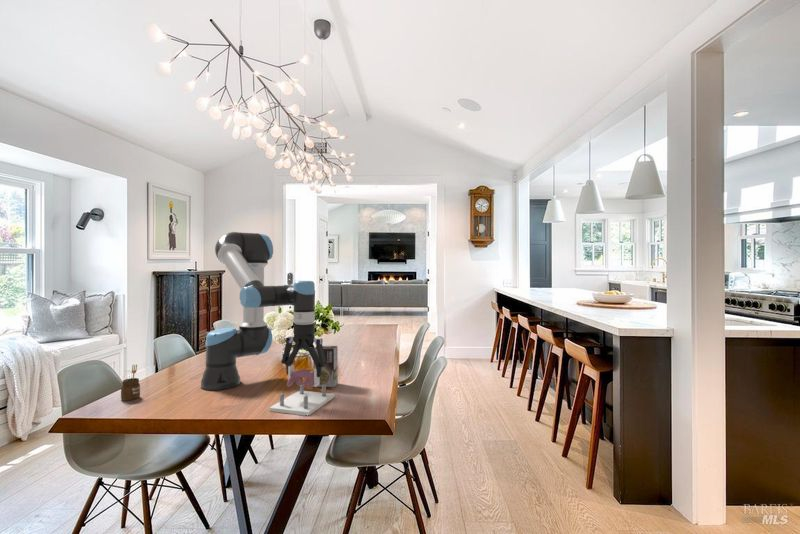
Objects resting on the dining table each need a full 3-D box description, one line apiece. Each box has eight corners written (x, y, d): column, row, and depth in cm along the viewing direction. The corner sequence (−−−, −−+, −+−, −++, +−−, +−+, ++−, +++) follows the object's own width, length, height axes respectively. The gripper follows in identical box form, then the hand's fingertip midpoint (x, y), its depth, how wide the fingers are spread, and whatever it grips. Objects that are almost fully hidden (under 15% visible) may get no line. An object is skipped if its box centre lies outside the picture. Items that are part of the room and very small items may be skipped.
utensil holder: (117, 401, 143) (117, 368, 143) (126, 396, 149) (126, 364, 149) (135, 400, 144) (135, 368, 144) (143, 395, 150) (143, 364, 150)
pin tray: (269, 411, 134) (269, 395, 134) (299, 393, 154) (299, 380, 154) (308, 415, 130) (308, 400, 130) (334, 397, 149) (334, 383, 149)
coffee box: (338, 383, 168) (338, 345, 168) (334, 387, 161) (334, 348, 161) (317, 382, 168) (317, 345, 169) (312, 386, 162) (312, 348, 162)
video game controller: (315, 391, 140) (319, 371, 143) (309, 388, 136) (313, 368, 139) (291, 388, 143) (296, 369, 146) (284, 386, 139) (290, 366, 142)
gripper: (271, 323, 142) (270, 384, 141) (327, 325, 135) (326, 390, 135) (283, 320, 149) (282, 379, 149) (336, 323, 142) (336, 384, 142)
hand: (303, 384), depth 142 cm, fingers closed on video game controller, 10 cm apart
